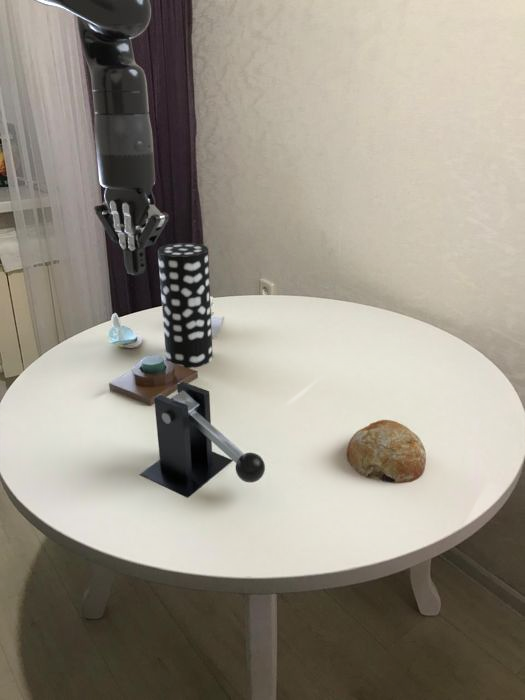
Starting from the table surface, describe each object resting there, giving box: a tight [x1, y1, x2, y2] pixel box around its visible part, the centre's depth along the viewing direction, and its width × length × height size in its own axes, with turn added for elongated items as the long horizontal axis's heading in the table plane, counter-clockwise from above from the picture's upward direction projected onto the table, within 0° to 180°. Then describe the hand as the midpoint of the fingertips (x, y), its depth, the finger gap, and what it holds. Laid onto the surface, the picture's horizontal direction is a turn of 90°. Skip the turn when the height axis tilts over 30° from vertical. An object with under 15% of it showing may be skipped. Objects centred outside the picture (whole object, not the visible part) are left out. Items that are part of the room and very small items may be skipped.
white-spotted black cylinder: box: [157, 242, 214, 369], centre depth 102 cm, size 8×8×20 cm
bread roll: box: [345, 419, 427, 484], centre depth 76 cm, size 10×10×8 cm
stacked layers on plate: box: [210, 295, 224, 338], centre depth 118 cm, size 10×9×6 cm
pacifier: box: [108, 312, 143, 349], centre depth 110 cm, size 7×6×6 cm
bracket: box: [139, 382, 234, 499], centre depth 73 cm, size 8×9×12 cm
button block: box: [108, 358, 199, 407], centre depth 95 cm, size 11×9×4 cm
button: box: [140, 354, 165, 374], centre depth 94 cm, size 4×4×2 cm
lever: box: [170, 390, 266, 484], centre depth 70 cm, size 14×3×3 cm, turn 56°
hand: (135, 273), depth 86 cm, fingers closed
